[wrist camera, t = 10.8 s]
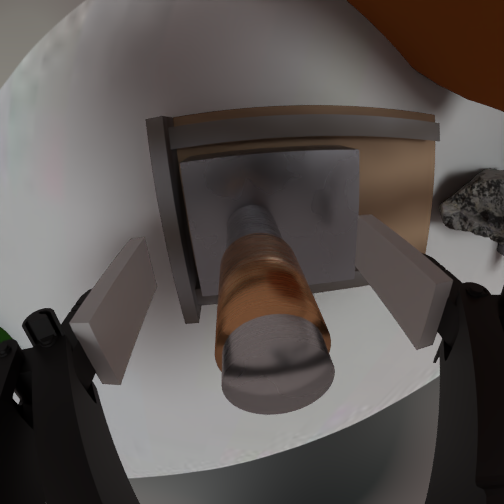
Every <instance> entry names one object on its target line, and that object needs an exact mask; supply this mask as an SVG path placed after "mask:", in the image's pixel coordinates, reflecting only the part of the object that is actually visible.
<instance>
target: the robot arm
mask: <svg viewBox="0 0 504 504" xmlns="http://www.w3.org/2000/svg"><path fill="white" fill-rule="evenodd" d="M355 266H356V268H357V269H358V270H359V272H360V273H361V274H362V275H363V277H364V278H365V279H366V281H367V282H368V283H369V284H370V286H371V287H372V288H373V290H374V291H375V292H376V294H377V295H378V296H379V298H380V299H381V300H382V302H383V303H384V305H385V306H386V307H387V309H388V310H389V311H390V313H391V314H392V316H393V317H394V318H395V320H396V321H397V322H398V324H399V325H400V327H401V328H402V330H403V331H404V332H405V334H406V335H407V337H408V338H409V340H410V341H411V343H412V344H413V345H414V347H415V348H416V350H418V349H421V348H424V347H427V346H430V345H433V342H434V340H435V337H436V334H437V332H438V333H439V334H440V336H441V337H442V341H441V343H440V346H439V348H438V351H437V353H436V356H435V358H434V362H433V363H436V361H437V359H438V358H439V357H440V398H439V416H438V429H437V438H436V447H435V454H434V461H433V467H432V473H431V478H430V483H429V488H428V493H427V498H426V501H425V504H504V286H503V289H502V292H501V295H491V294H490V292H489V291H488V290H487V289H486V288H485V287H483V286H481V285H479V284H477V283H473V282H466V283H462V282H461V281H459V280H458V279H457V278H456V277H455V276H454V275H453V274H451V273H450V272H449V271H448V270H446V269H445V268H444V267H443V266H442V265H440V263H438V262H437V261H436V260H435V259H434V258H432V257H430V256H428V255H426V254H424V253H421V252H420V251H418V250H417V249H416V248H415V247H413V246H412V245H411V244H410V243H408V242H407V241H406V240H405V239H403V238H402V237H401V236H399V235H398V234H397V233H396V232H394V231H393V230H392V229H390V228H389V227H388V226H386V225H385V224H384V223H382V222H381V221H380V220H378V219H377V218H376V217H374V216H373V215H372V214H370V215H358V223H357V241H356V256H355ZM156 288H157V284H156V280H155V277H154V273H153V269H152V265H151V261H150V257H149V253H148V249H147V245H146V241H145V237H142V238H134V239H130V240H129V241H128V243H127V244H126V245H125V246H124V248H123V249H122V250H121V252H120V253H119V254H118V255H117V257H116V258H115V259H114V261H113V262H112V263H111V264H110V266H109V267H108V268H107V270H106V271H105V272H104V274H103V275H102V276H101V278H100V279H99V281H98V282H97V283H96V285H95V286H94V287H93V289H90V290H88V291H87V292H86V293H84V294H83V295H82V296H81V297H80V298H79V300H78V301H77V302H76V305H74V307H73V308H72V309H71V312H69V314H68V315H67V317H66V318H65V320H64V321H63V323H62V324H60V322H59V320H58V318H57V316H56V314H55V312H54V310H52V309H51V308H44V309H40V310H38V311H35V312H33V313H32V314H31V315H29V316H28V317H27V318H26V319H25V320H24V322H23V324H22V327H23V329H24V331H25V333H26V335H27V336H28V338H29V340H30V342H31V343H32V345H33V348H28V349H23V350H22V349H21V348H20V346H19V344H18V343H17V341H16V340H14V339H9V340H6V341H5V340H4V341H2V343H0V504H140V503H139V501H138V499H137V497H136V495H135V493H134V491H133V489H132V486H131V484H130V482H129V480H128V478H127V475H126V473H125V471H124V468H123V466H122V463H121V461H120V458H119V456H118V453H117V451H116V448H115V445H114V443H113V440H112V437H111V434H110V431H109V428H108V425H107V422H106V419H105V416H104V413H103V409H102V406H101V402H100V399H99V395H98V391H97V388H96V386H95V385H94V383H93V382H92V380H93V378H94V375H95V373H96V374H97V376H98V377H99V379H100V381H101V382H102V384H113V385H121V382H122V379H123V376H124V373H125V371H126V368H127V365H128V362H129V359H130V356H131V353H132V350H133V348H134V345H135V342H136V339H137V337H138V334H139V331H140V329H141V326H142V323H143V321H144V318H145V316H146V313H147V310H148V308H149V305H150V303H151V300H152V298H153V295H154V293H155V291H156ZM14 392H15V393H16V395H17V396H18V397H19V398H20V402H19V404H17V403H16V402H15V401H14V399H13V393H14Z"/></svg>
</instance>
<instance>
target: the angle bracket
mask: <svg viewBox="0 0 504 504" xmlns="http://www.w3.org/2000/svg"><path fill="white" fill-rule="evenodd" d="M497 251H498V252H499V253H500V254H502V255H503V256H504V245H502V244H499V243H498V248H497Z"/></svg>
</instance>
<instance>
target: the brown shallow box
mask: <svg viewBox="0 0 504 504" xmlns="http://www.w3.org/2000/svg"><path fill="white" fill-rule="evenodd" d="M146 127H147V135H148V142H149V150H150V157H151V164H152V170H153V177H154V183H155V189H156V194H157V200H158V206H159V211H160V216H161V222H162V227H163V232H164V236H165V241H166V246H167V251H168V255H169V260H170V264H171V268H172V273H173V277H174V281H175V285H176V289H177V293H178V297H179V301H180V305H181V309H182V313H183V316H184V320H185V324H189V323H199V318H200V311H201V305H210V304H218V295H213V296H202V291H201V286H200V281H199V276H198V271H197V266H196V260H195V255H194V250H193V244H192V238H191V233H190V227H189V221H188V215H187V209H186V202H185V196H184V189H183V182H182V176H181V168H180V162H182V161H183V160H185V159H186V158H188V157H189V156H195V155H202V154H210V153H218V152H227V151H236V150H247V149H258V148H271V147H287V146H309V145H341V146H346V147H350V148H354V149H358V150H359V215H370V214H372V215H373V216H374V217H376V218H377V219H378V220H380V221H381V222H382V223H384V224H385V225H386V226H388V227H389V228H390V229H392V230H393V231H394V232H396V233H397V234H398V235H399V236H401V237H402V238H403V239H405V240H406V241H407V242H408V243H410V244H411V245H412V246H413V247H415V248H416V249H417V250H418V251H420V252H421V253H424V254H425V252H426V246H427V240H428V233H429V225H430V217H431V208H432V198H433V185H434V168H435V141H440V128H439V123H435V115H432V114H426V113H419V112H411V111H403V110H395V109H385V108H373V107H358V106H333V105H295V106H269V107H254V108H242V109H231V110H222V111H213V112H206V113H198V114H192V115H185V116H179V117H173V118H172V117H165V116H160V117H155V118H150V119H146ZM366 285H370V284H369V283H368V282H367V281H366V279H365V278H364V277H363V275H362V274H361V273H360V272H359V270H358V269H357V268H356V266H355V277H354V279H350V280H343V281H336V282H329V283H321V284H313V285H309V287H310V290H311V292H312V293H318V292H325V291H332V290H339V289H346V288H353V287H360V286H366Z"/></svg>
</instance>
